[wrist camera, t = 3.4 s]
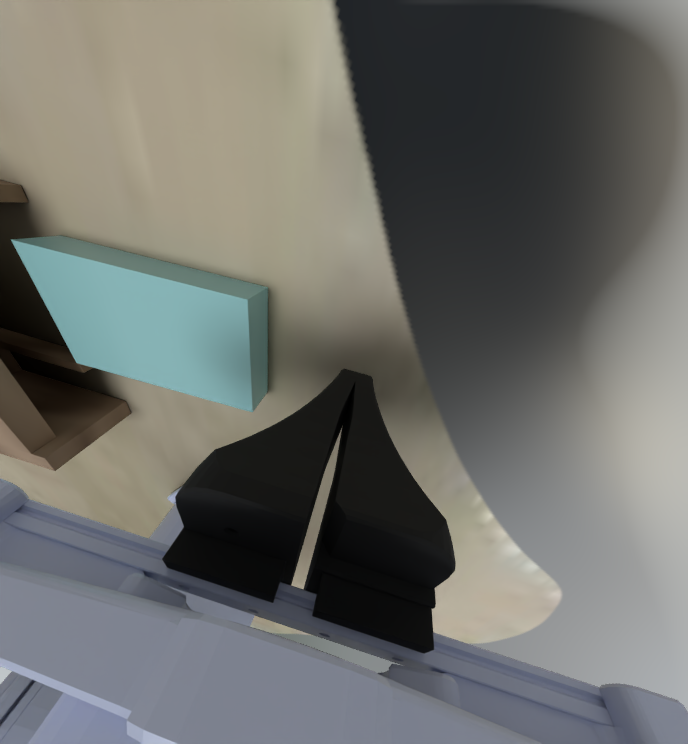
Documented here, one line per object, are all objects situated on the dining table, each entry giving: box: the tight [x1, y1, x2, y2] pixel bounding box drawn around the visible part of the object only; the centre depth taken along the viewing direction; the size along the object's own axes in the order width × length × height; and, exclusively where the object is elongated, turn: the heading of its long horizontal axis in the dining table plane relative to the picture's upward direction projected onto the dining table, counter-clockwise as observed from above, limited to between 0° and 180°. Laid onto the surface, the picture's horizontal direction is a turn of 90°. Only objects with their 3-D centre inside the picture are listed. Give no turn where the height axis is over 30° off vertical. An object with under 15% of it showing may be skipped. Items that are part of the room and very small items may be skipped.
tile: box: [11, 235, 268, 412], centre depth 12 cm, size 10×6×2 cm, turn 80°
